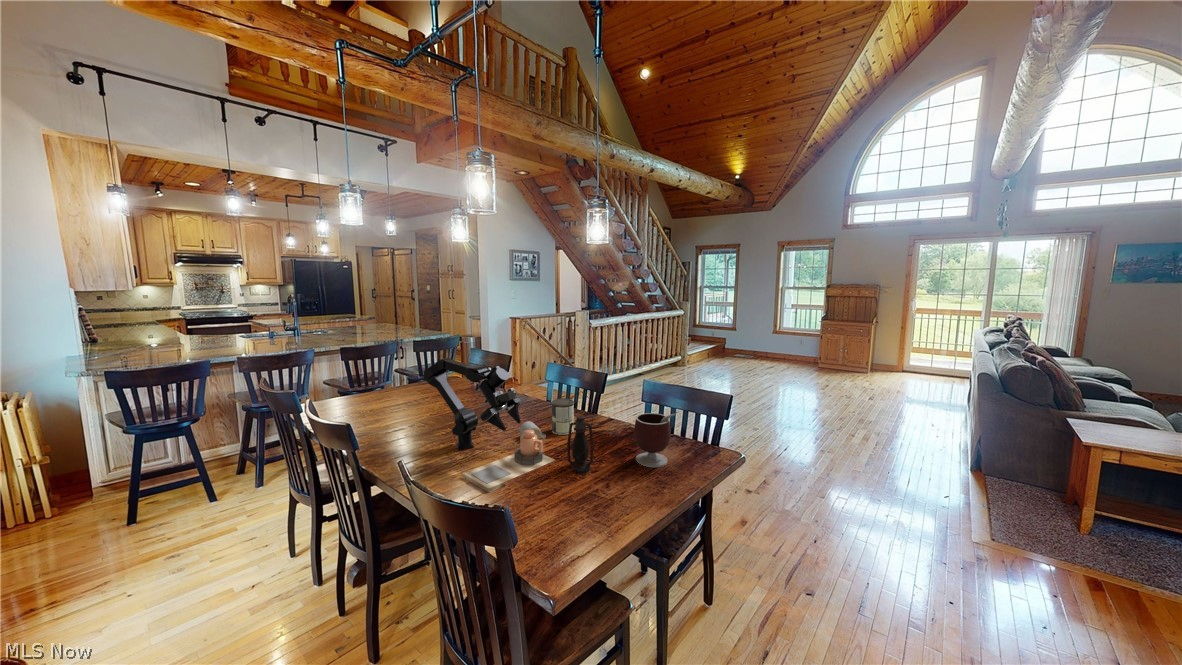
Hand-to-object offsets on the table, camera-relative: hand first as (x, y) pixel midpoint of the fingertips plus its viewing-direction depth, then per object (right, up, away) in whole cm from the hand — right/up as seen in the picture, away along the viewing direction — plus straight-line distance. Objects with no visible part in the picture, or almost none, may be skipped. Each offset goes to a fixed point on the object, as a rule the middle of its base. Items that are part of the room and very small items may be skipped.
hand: (512, 426), depth 165 cm
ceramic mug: (+5, -11, +21) cm, 24 cm away
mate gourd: (+55, -14, 0) cm, 57 cm away
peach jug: (+8, -12, -3) cm, 15 cm away
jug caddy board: (+1, -14, -8) cm, 16 cm away
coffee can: (+17, -9, +31) cm, 37 cm away
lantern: (+26, -15, -7) cm, 31 cm away
